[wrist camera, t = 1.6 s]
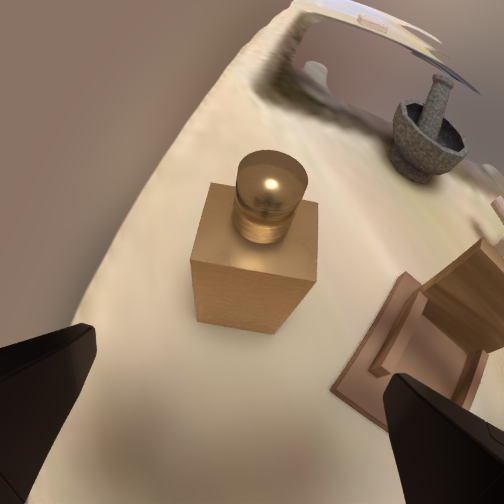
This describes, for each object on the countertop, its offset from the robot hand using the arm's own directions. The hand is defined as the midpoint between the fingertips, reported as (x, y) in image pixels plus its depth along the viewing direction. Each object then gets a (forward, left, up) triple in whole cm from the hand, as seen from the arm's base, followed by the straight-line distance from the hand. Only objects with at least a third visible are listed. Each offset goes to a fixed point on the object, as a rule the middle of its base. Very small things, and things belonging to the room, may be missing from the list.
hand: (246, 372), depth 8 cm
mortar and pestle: (+33, -9, -13) cm, 36 cm away
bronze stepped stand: (+8, -14, -13) cm, 20 cm away
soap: (+102, +5, -13) cm, 102 cm away
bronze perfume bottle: (+7, +2, -13) cm, 14 cm away
